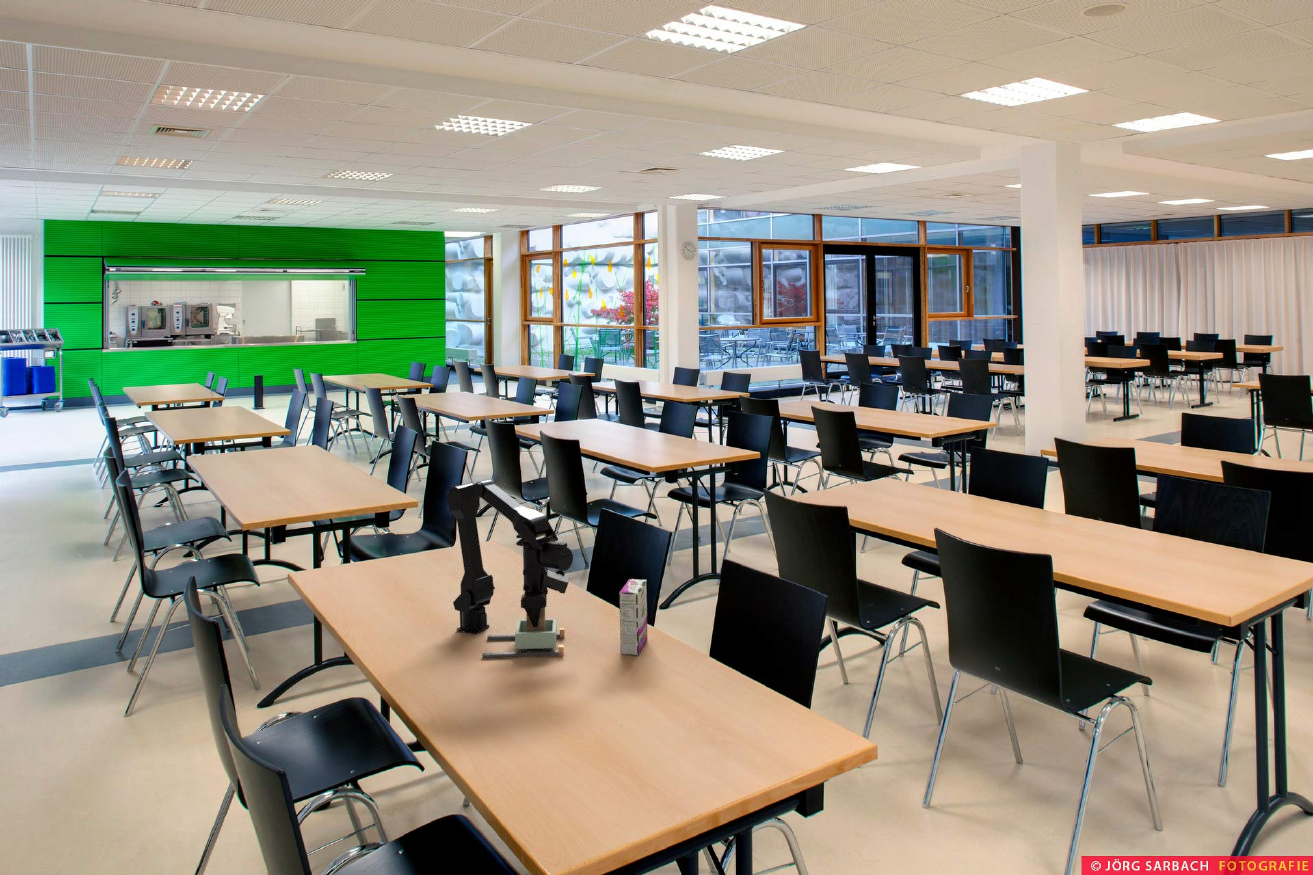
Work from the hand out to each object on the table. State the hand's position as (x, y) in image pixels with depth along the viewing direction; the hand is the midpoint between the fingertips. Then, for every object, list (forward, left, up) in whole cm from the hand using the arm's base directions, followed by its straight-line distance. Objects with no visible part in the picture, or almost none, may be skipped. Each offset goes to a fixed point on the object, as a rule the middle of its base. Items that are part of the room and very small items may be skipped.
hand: (536, 623), depth 227 cm
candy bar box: (+23, +10, -6) cm, 26 cm away
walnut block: (0, 0, -1) cm, 1 cm away
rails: (-3, -2, -6) cm, 7 cm away
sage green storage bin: (0, 0, -6) cm, 6 cm away
